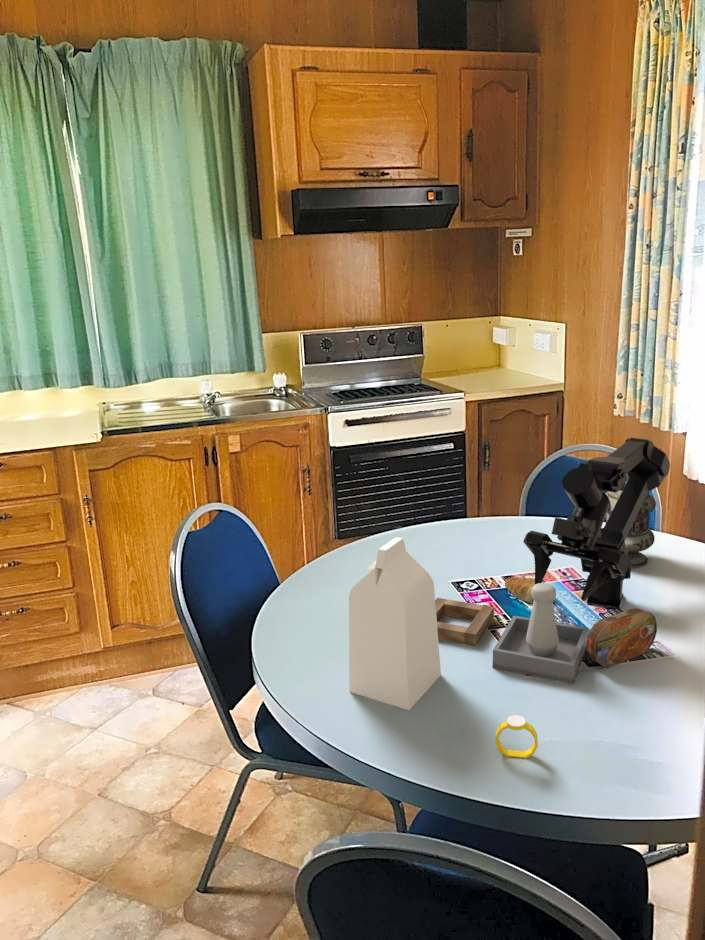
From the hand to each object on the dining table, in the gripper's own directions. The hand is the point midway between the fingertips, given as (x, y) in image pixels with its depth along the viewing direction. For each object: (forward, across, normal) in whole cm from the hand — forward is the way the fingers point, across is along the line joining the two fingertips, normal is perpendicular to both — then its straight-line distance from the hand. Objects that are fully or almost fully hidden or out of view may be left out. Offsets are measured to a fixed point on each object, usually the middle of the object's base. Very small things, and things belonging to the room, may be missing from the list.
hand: (558, 593), depth 140 cm
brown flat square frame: (+11, -19, +3) cm, 22 cm away
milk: (+28, -16, -14) cm, 35 cm away
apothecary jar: (-24, -5, +39) cm, 46 cm away
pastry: (-3, -15, +18) cm, 23 cm away
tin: (+6, +11, +9) cm, 15 cm away
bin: (+12, 0, +3) cm, 12 cm away
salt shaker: (+11, 0, +2) cm, 11 cm away
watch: (+31, +10, -17) cm, 36 cm away
